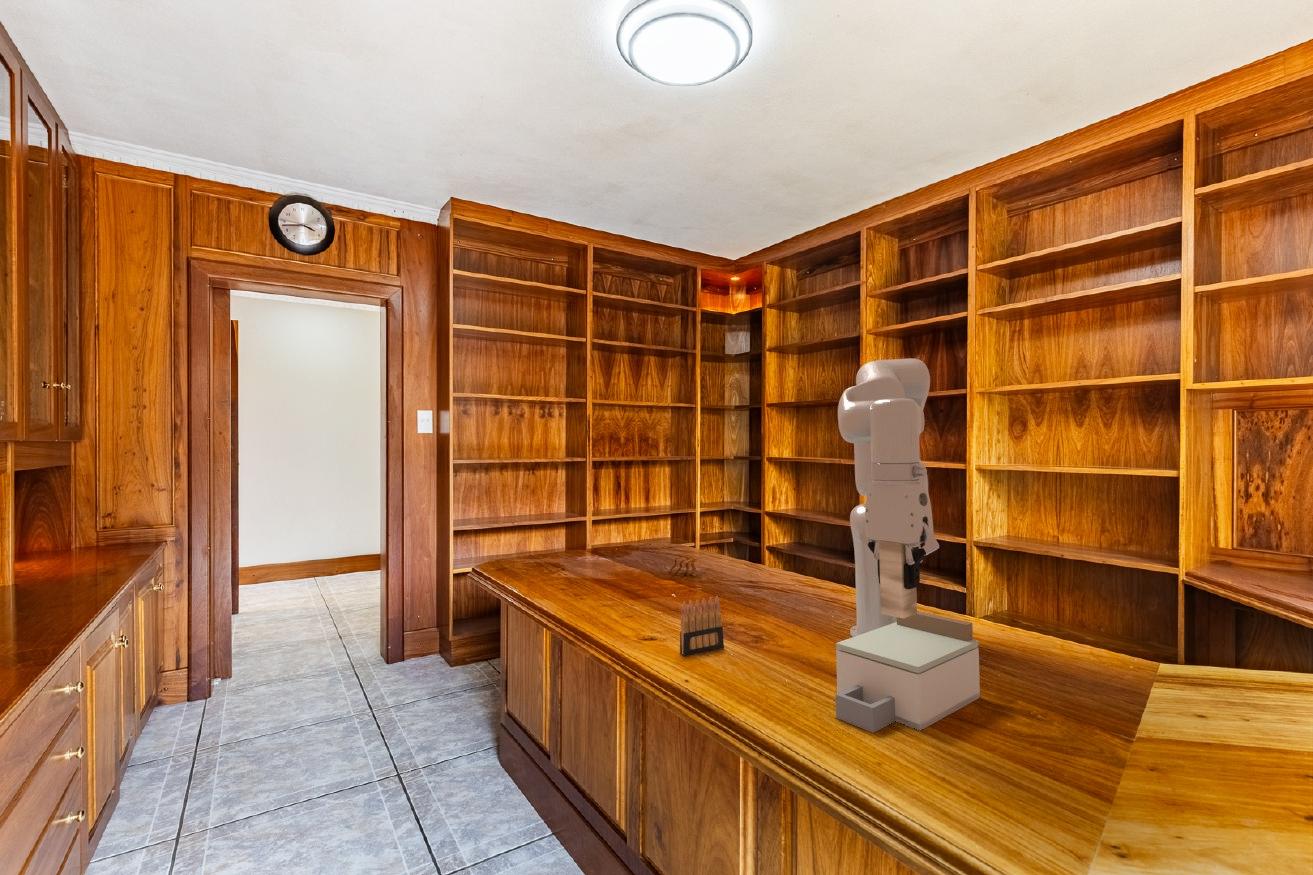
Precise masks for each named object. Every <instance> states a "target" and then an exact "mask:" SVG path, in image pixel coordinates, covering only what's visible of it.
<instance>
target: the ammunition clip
mask: <svg viewBox="0 0 1313 875" xmlns="http://www.w3.org/2000/svg"><path fill="white" fill-rule="evenodd" d="M700 604H701V605H700ZM694 605H695V606H694ZM680 629H681V630H680V632H679V655H681V656H683V657H690V656H694V655H698V654H704V653H709V652H713V651H718V650H723V649H724V648H725V643H724V641H725V640H724V631H723V630H724V627H723V626H722V613H721V604H720V599H719V596H718V595H716V597H715V600H714V602H713V598H712V597H711V596H709V598H708V603H707V601H706V598H704V597H703V598H702V601H701V603H700V601H699V599H698V598H696V601H695V604H693V600H692V599H690V600H689V602H688V607H687V604H686V601H685V600H684V601H683V602H682V605H681V619H680Z"/></svg>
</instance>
